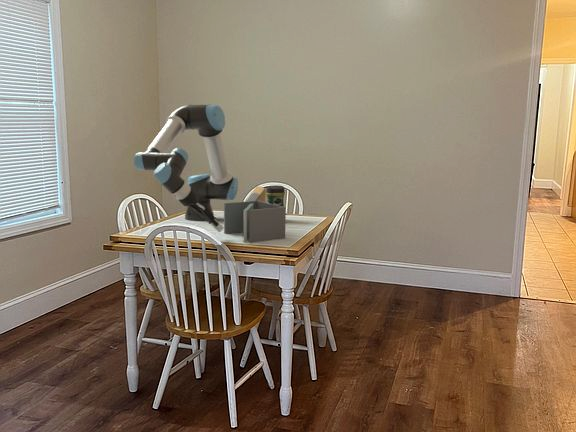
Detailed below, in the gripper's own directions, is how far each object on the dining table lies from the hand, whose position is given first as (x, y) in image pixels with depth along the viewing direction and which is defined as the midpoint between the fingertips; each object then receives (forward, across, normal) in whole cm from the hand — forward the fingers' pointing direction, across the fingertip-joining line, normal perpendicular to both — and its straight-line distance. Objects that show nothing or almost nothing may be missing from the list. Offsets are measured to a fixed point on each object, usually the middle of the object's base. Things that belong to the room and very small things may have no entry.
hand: (220, 229), depth 241 cm
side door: (+11, +3, +6) cm, 13 cm away
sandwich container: (+35, -52, +29) cm, 69 cm away
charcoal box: (+14, +1, +8) cm, 17 cm away
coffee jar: (+35, -27, +29) cm, 54 cm away
